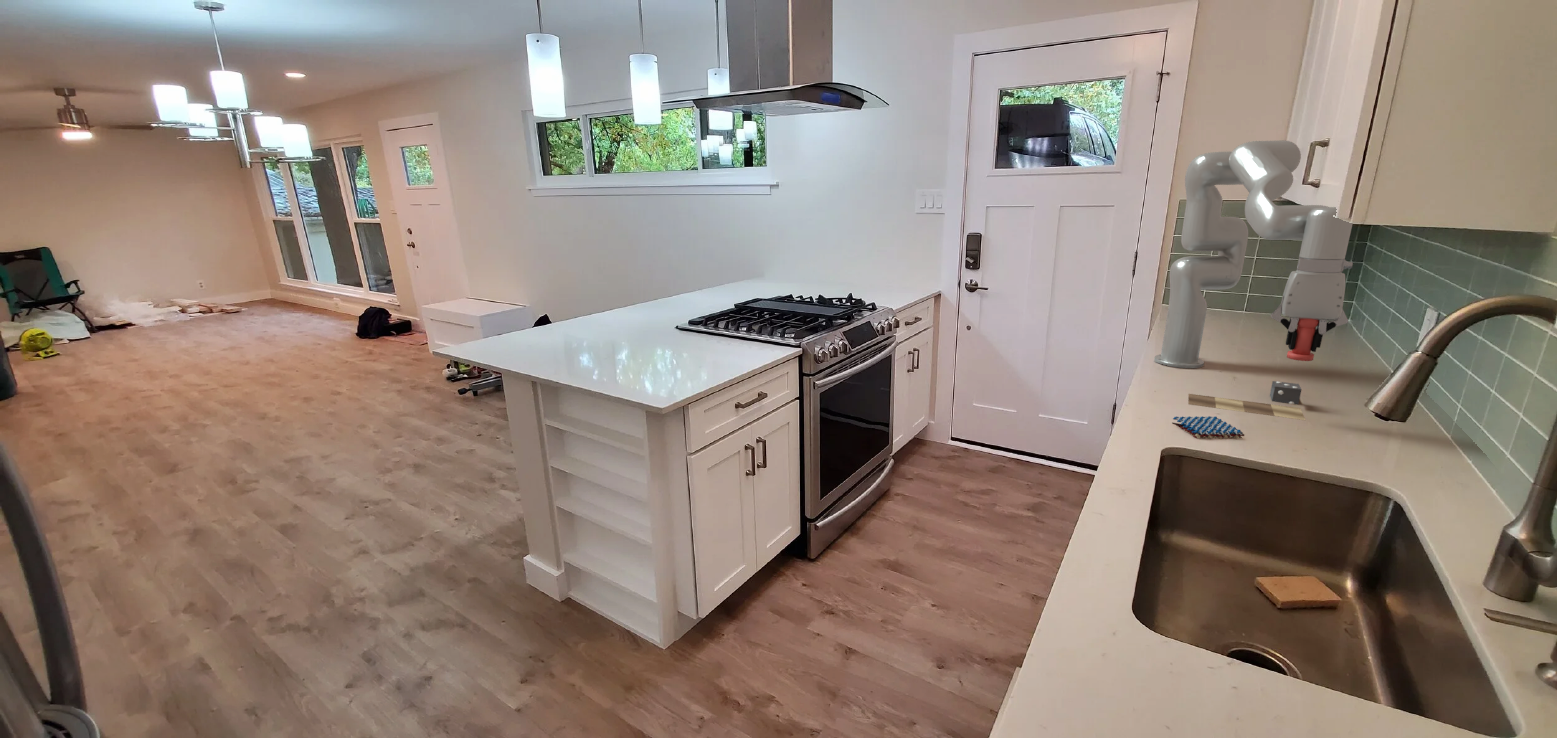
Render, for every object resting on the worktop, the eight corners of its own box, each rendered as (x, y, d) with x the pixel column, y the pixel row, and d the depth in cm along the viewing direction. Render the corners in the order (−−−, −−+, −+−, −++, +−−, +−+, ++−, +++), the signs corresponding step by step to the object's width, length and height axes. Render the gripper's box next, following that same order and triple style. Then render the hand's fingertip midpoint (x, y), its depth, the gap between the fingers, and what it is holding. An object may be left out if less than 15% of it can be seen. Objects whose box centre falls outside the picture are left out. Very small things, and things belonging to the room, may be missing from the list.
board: (1187, 398, 158) (1188, 393, 158) (1298, 412, 147) (1300, 408, 147) (1187, 408, 151) (1188, 404, 151) (1304, 425, 140) (1305, 420, 139)
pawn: (1285, 354, 144) (1294, 310, 141) (1311, 357, 141) (1321, 312, 139) (1288, 359, 140) (1297, 313, 137) (1314, 362, 138) (1324, 315, 135)
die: (1268, 400, 156) (1272, 380, 155) (1294, 403, 154) (1298, 383, 152) (1270, 406, 152) (1275, 386, 150) (1297, 409, 149) (1301, 389, 148)
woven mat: (1246, 441, 133) (1248, 432, 133) (1195, 441, 134) (1196, 432, 133) (1215, 423, 143) (1216, 415, 143) (1167, 423, 144) (1168, 415, 143)
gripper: (1366, 266, 134) (1346, 350, 139) (1270, 263, 142) (1254, 342, 147) (1374, 270, 128) (1353, 357, 133) (1273, 266, 136) (1257, 348, 141)
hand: (1301, 348), depth 140 cm, fingers closed on pawn, 3 cm apart
